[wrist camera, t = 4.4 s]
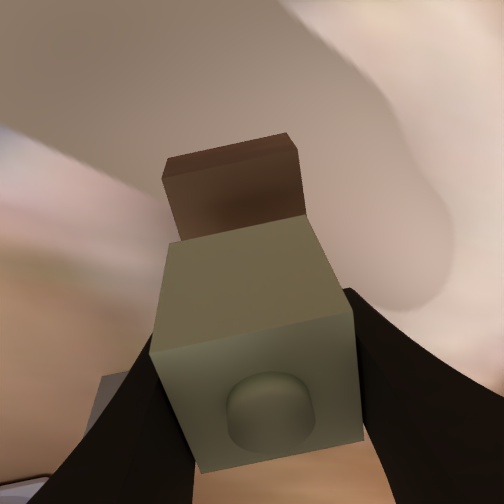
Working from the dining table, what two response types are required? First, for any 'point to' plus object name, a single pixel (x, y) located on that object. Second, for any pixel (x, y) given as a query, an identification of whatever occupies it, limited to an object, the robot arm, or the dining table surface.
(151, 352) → the sage block
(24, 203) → the dining table surface
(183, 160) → the walnut base brick
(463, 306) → the dining table surface
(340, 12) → the dining table surface
